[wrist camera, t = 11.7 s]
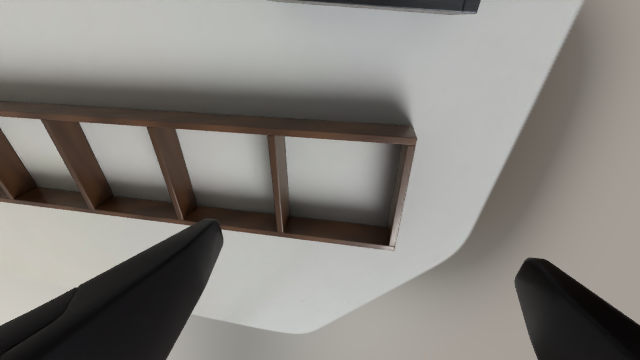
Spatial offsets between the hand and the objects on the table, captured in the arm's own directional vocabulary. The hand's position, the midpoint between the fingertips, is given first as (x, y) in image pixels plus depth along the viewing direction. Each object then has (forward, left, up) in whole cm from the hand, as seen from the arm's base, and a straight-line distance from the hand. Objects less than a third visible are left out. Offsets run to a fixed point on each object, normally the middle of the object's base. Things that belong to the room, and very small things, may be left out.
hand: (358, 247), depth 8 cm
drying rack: (+12, +21, -12) cm, 27 cm away
